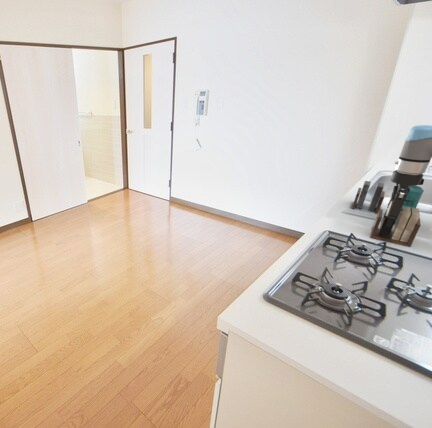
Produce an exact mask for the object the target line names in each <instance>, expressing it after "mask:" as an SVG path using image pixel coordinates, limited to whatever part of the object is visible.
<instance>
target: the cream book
mask: <svg viewBox="0 0 432 428" xmlns="http://www.w3.org/2000/svg"><path fill="white" fill-rule="evenodd" d="M391 204H392V201H391V203H390V205H389V207H388V209H387V208H386V209H387V211H386V210H385V212H386V214H385V213H384V214H385V216H387V215H388V212H389V210H390V207H391ZM382 219H383V221H382V220H381V222H382V223H381V222H380V224H379V226H380V227H379V228H380V230H381V228H382V225H383V223H384V220H385V218H383V217H382Z"/></svg>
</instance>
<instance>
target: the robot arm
mask: <svg viewBox="0 0 432 428" xmlns="http://www.w3.org/2000/svg"><path fill="white" fill-rule="evenodd" d="M431 159H432V125H428V124H423V125H422V124H420V125H415V126H412V128H410V130H409V132H408V134H407V136H406V138H405V141H404V143H403V146H402V149H401V152H400V154H399V157H398V160H395V161H394V164H395V168H394V171H393V172H392V174H391V177H390V181H391V182H392V183H393V184H395V185H394V186H393V189H392V193H391V197H390V199H389V202H388V203H387V207H386V209H385V212H384V214H383V216H382V219H381V221H380V224H381V223H382V221H383V218H385V220H384V223H383V225H382V228H381V230H380V233H381V234H385V235H390V233H391V231H392V230H393V228H394V225H395V221H396V220H397V219H398V215H399V213H400V210H401V208H402V205H403V203H404V201H405V199H406V197H407V195H408V194H409V191H410V190H409V189H410V188H408V186H411V185H412V186H420V185H419V184H420V182H421V180H422V179H424V173H426V172H427V169H428V167H429V165H430V162H431ZM391 201H392V204H391V207H390V210H389V212H388V215H387V216H385V214H386V211H387V209H388V207H389V205H390V203H391Z"/></svg>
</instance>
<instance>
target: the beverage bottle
mask: <svg viewBox="0 0 432 428" xmlns="http://www.w3.org/2000/svg"><path fill="white" fill-rule="evenodd" d="M424 182H425V179H424V178H422V180H421V182H420V184H419V185H416V186H412V185H411V186H408V188H410V189H409V190H410V191H409V194H408V195H407V197H406V199H405V201H404V203H403V205H402V207H403V206H405V207H410V210H411V208H417V207H418V204H419V203H420V200H421V198H422V195H423V193H425V190H424V189H423V188H422V187H421V186H423V185H424ZM401 209H402V208H401ZM400 211H401V210H400ZM399 214H400V213H399ZM398 216H399V215H398ZM396 221H397V220H396ZM396 221H395V223H396ZM395 223H394V224H395Z"/></svg>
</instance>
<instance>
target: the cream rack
mask: <svg viewBox="0 0 432 428" xmlns="http://www.w3.org/2000/svg"><path fill="white" fill-rule="evenodd" d="M383 211H384V209H383V208H380V209H379V211H378V214H376V216H375V219H374V222H373V224H372V226H371V231H370V236H369V238H370V239H373V240H378V241H382V242H387V243H391V244H396V245H399V246H404V247H409V248H412V244H413V243H414V240H415V238H416V236H417V234H418V232H419V230H420V227H421V224H422V223H421V218H420V216H421V212H420V208H417V207H416V208H411V210H410V207H405V206H403V207H402V209H401V211H400V214H399V216H398V219H397V221H396V223H394V226H393V228H392V230H391V233H390V235H385V234H381V233H380V227H379V226H380V225H381V222H382V219H383Z"/></svg>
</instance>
